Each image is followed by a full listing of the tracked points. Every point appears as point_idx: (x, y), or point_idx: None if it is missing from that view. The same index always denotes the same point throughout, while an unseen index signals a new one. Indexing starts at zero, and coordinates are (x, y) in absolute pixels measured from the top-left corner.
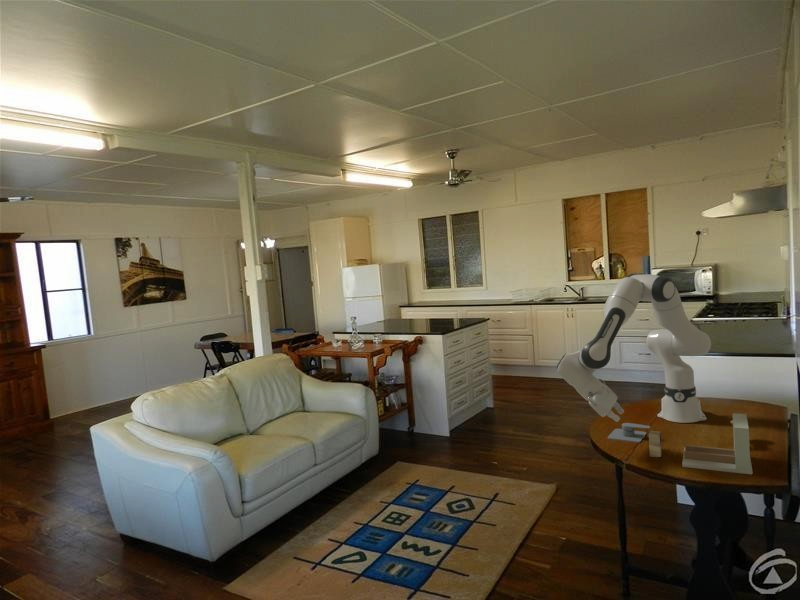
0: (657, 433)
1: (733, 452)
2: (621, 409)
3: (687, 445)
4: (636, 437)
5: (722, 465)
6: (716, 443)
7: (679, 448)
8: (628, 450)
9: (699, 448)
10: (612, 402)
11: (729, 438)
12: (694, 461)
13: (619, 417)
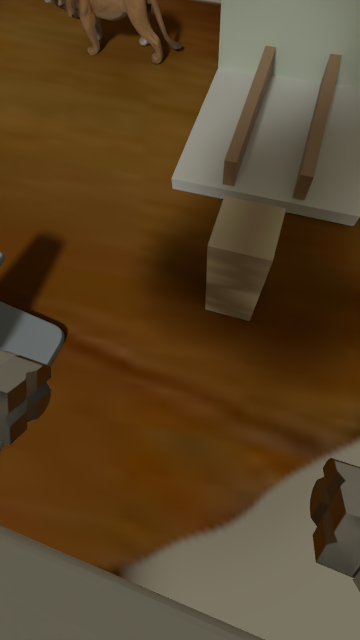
0: (261, 213)
1: (273, 57)
2: (16, 380)
3: (230, 154)
4: (3, 334)
5: (353, 113)
6: (107, 99)
7: (149, 200)
8: (168, 405)
9: (249, 128)
10: (51, 632)
11: (66, 65)
12: (329, 176)
13: (349, 470)
